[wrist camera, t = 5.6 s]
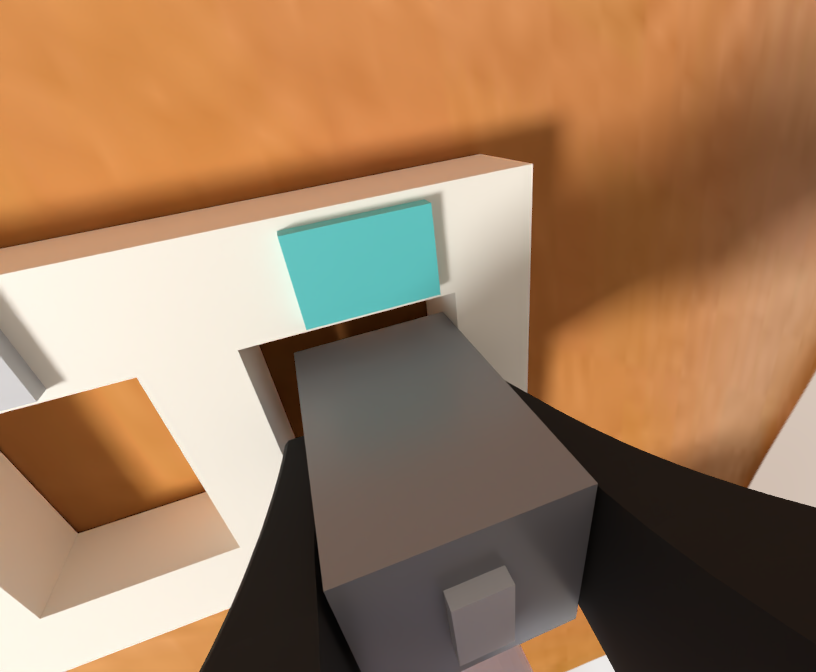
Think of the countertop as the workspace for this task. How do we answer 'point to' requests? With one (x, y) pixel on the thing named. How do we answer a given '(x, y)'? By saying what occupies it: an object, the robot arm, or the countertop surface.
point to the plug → (437, 500)
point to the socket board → (224, 371)
